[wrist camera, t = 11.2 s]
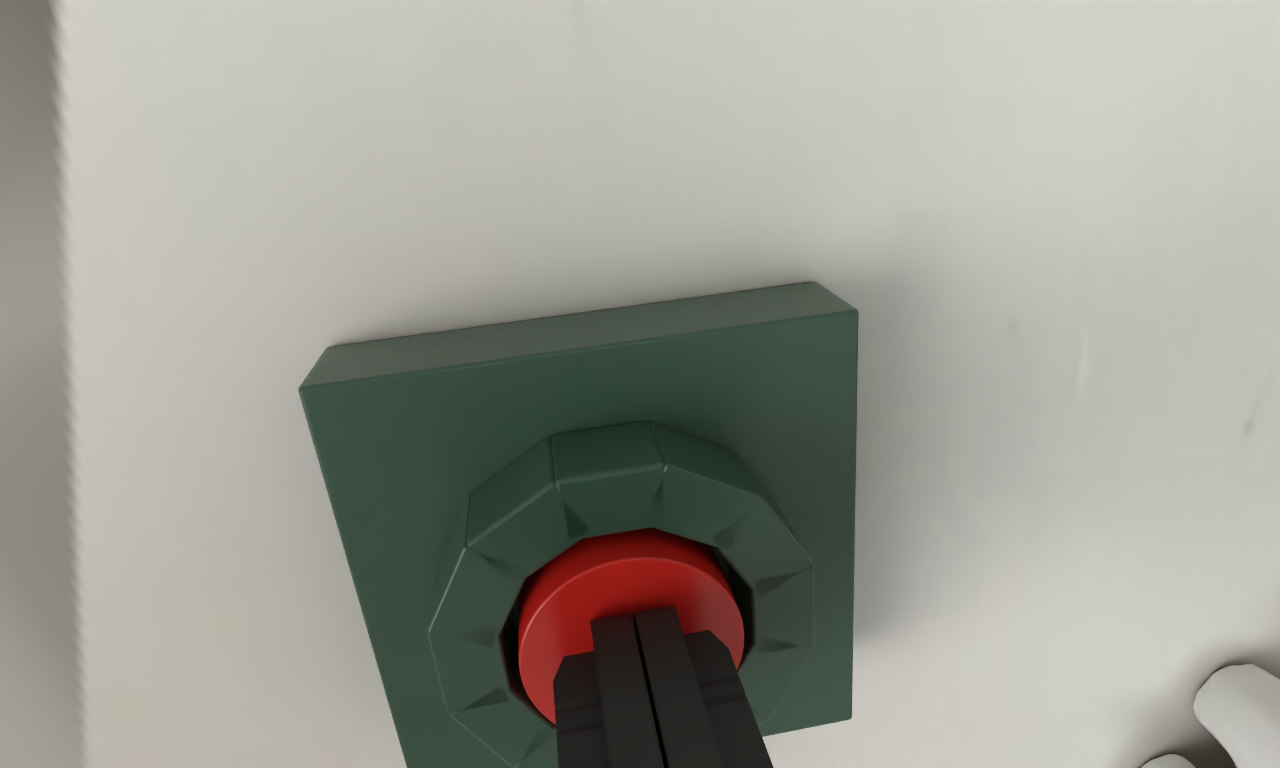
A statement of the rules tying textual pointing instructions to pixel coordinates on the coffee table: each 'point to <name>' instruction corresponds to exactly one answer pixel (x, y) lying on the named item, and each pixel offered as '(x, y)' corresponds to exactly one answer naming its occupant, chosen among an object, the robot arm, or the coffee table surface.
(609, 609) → the red button
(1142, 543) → the coffee table surface
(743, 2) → the coffee table surface
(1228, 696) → the elephant figurine
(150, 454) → the coffee table surface
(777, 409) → the button box
